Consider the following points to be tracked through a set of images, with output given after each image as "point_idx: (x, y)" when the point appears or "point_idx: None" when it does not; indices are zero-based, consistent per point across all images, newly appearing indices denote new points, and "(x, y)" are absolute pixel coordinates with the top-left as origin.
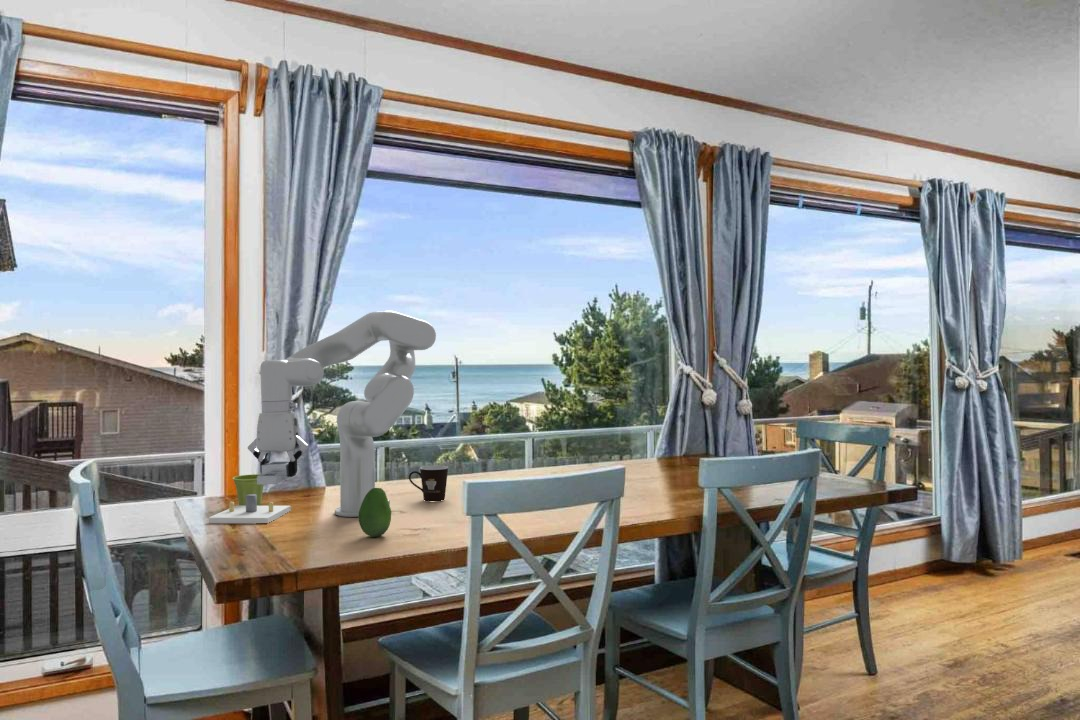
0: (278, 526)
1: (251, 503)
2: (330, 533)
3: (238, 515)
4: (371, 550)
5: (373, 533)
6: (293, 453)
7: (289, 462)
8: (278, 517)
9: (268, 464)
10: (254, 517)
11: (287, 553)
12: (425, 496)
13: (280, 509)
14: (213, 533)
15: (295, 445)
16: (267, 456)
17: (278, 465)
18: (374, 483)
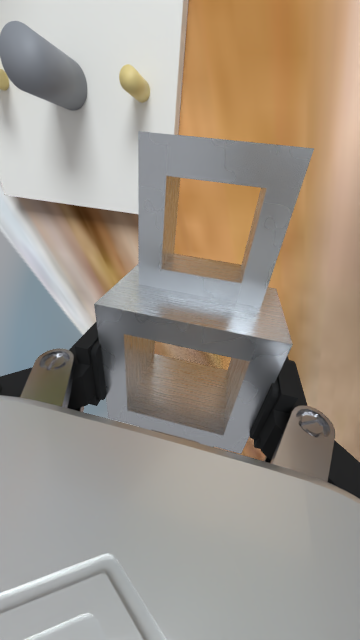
0: (209, 255)
1: (58, 99)
2: (347, 345)
3: (65, 168)
4: None
5: None
6: (293, 465)
7: (257, 442)
8: (179, 117)
9: (128, 394)
10: (126, 208)
11: None
12: None
13: (166, 32)
14: (90, 302)
15: (349, 526)
16: (70, 380)
17: (198, 440)
18: None
